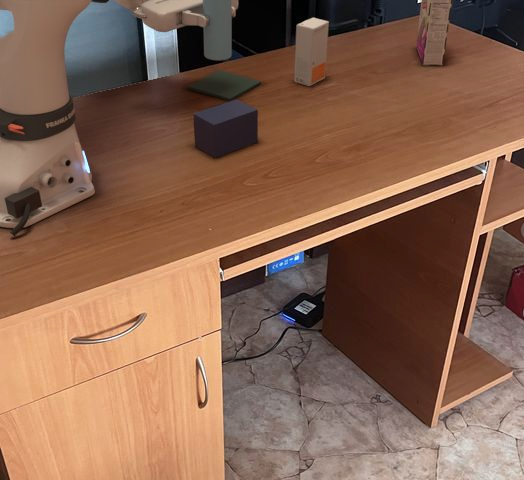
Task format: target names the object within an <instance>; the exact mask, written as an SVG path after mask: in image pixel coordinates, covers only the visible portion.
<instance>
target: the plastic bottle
mask: <svg viewBox="0 0 524 480" xmlns="http://www.w3.org/2000/svg"><path fill="white" fill-rule="evenodd" d="M203 14H206V15H208V16H209V17H210V25H208V26H205V27H203V56H204V57H205V59H207V60H211V61H226V60H229V59H230V58H231V57H232V55H233V45H232V44H233V43H232V41H233V39H232V38H233V37H232V34H233V31H232V28H233V27H232V26H233V25H232V24H233V23H232V22H233V21H232V20H233V18H232V0H203Z"/></svg>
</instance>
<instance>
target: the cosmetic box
mask: <svg viewBox="0 0 524 480" xmlns="http://www.w3.org/2000/svg"><path fill="white" fill-rule="evenodd" d="M329 23H330V21H328V20H325V19H320V18H316V17H311V18H308V19H306V20H304V21H302V22H300V23H297V24H296V27H295V29H296V30H295V53H294V70H293V71H294V72H293V73H294V74H293V75H294V76H293V82H294V83H296V84H300V85H303V86H307V87H311V86H313V85H315V84H317V83H318V82H320V81H322V80H324V79H326V70H327V69H326V67H327V55H328V41H329V40H328V39H329V26H330V25H329Z"/></svg>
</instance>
